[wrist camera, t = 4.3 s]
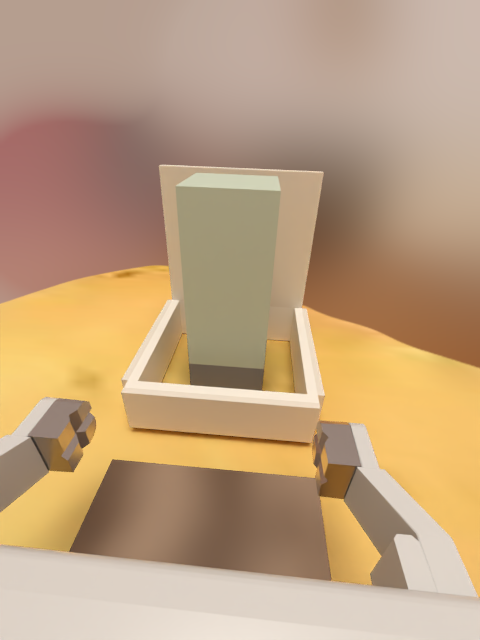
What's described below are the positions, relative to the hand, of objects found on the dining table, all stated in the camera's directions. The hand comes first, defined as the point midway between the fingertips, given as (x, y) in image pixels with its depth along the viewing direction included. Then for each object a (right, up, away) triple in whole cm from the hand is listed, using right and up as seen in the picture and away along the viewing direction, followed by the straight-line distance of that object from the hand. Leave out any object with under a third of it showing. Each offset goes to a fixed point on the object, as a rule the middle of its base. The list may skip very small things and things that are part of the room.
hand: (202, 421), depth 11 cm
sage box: (+1, -1, +13) cm, 13 cm away
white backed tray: (+1, -1, +13) cm, 13 cm away
